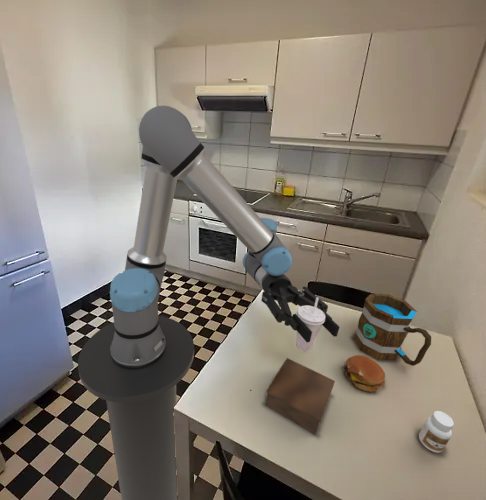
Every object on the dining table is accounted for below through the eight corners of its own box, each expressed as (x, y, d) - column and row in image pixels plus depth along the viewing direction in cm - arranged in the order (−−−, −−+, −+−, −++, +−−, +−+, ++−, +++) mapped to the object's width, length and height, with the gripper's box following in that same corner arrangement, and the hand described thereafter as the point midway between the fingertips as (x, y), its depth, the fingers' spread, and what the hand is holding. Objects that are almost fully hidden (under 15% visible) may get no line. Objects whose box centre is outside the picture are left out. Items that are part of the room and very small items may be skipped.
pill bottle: (421, 449, 59) (435, 424, 56) (415, 429, 62) (427, 405, 59) (446, 456, 57) (461, 432, 54) (438, 436, 61) (451, 412, 58)
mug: (343, 335, 91) (355, 296, 85) (373, 327, 95) (386, 289, 89) (398, 383, 74) (417, 339, 68) (431, 370, 79) (451, 328, 73)
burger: (381, 371, 77) (385, 359, 75) (383, 398, 69) (389, 385, 68) (343, 359, 81) (347, 347, 79) (341, 383, 73) (345, 370, 71)
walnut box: (264, 405, 66) (266, 390, 64) (284, 371, 75) (286, 357, 74) (316, 436, 60) (321, 420, 58) (330, 395, 69) (335, 380, 67)
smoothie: (313, 359, 64) (326, 309, 58) (286, 348, 67) (296, 298, 61) (320, 343, 69) (332, 295, 63) (295, 333, 72) (304, 286, 66)
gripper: (299, 289, 85) (354, 340, 65) (240, 297, 79) (281, 356, 59) (304, 267, 82) (363, 313, 62) (243, 273, 76) (287, 327, 56)
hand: (323, 334), depth 60 cm, fingers closed on smoothie, 6 cm apart
